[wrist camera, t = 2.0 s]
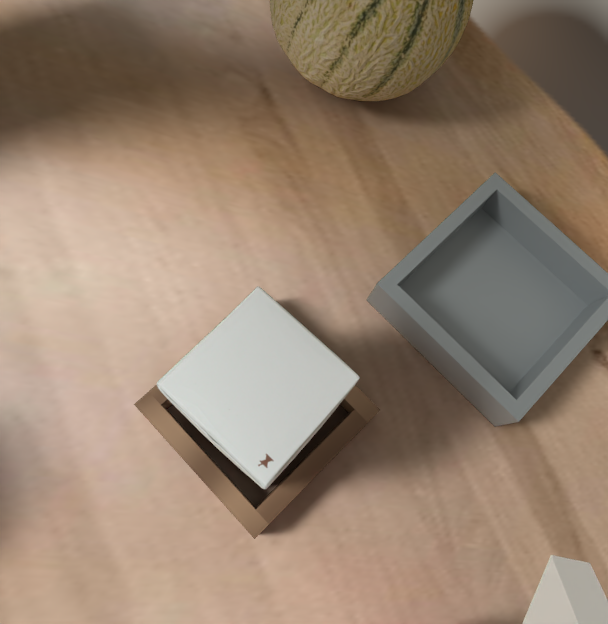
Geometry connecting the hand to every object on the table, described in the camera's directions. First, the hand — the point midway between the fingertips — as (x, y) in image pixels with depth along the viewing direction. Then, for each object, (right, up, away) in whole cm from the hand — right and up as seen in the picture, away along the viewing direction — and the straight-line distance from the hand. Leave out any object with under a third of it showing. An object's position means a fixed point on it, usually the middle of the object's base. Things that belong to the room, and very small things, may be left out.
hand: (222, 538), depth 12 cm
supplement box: (-1, -2, +28) cm, 28 cm away
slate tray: (+16, +5, +31) cm, 35 cm away
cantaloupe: (+6, +26, +37) cm, 45 cm away
